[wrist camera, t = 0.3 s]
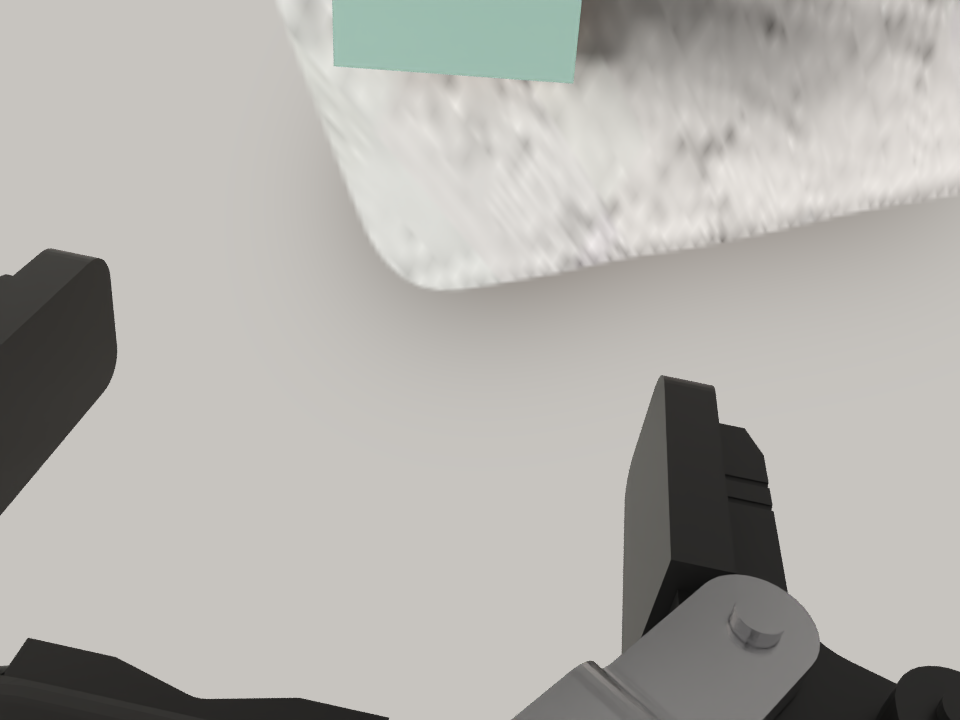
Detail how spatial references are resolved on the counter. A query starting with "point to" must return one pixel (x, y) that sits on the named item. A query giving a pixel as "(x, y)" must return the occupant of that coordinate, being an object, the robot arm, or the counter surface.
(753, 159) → the counter surface
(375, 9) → the teal block
